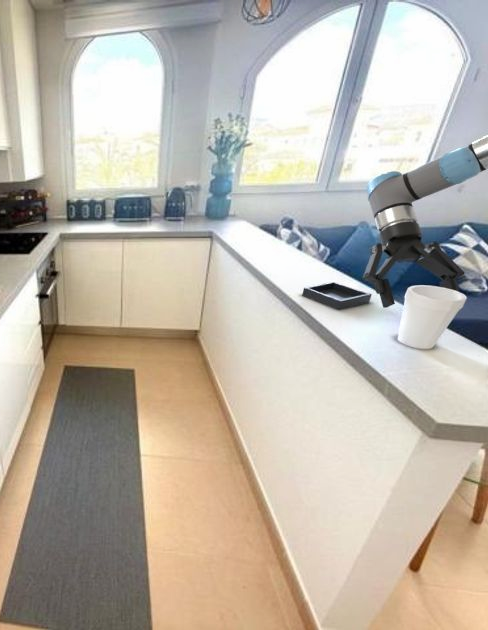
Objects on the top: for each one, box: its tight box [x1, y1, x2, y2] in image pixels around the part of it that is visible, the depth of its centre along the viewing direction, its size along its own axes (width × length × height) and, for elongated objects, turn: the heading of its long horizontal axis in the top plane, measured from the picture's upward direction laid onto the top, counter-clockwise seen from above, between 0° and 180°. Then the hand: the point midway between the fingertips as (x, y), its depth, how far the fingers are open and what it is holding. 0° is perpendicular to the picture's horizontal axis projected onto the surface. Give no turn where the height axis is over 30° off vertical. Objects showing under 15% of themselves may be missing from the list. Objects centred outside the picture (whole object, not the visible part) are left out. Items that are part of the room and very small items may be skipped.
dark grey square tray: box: [301, 281, 373, 311], centre depth 107 cm, size 12×12×3 cm
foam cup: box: [397, 284, 468, 350], centre depth 80 cm, size 10×9×13 cm
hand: (421, 305), depth 81 cm, fingers open, 13 cm apart
